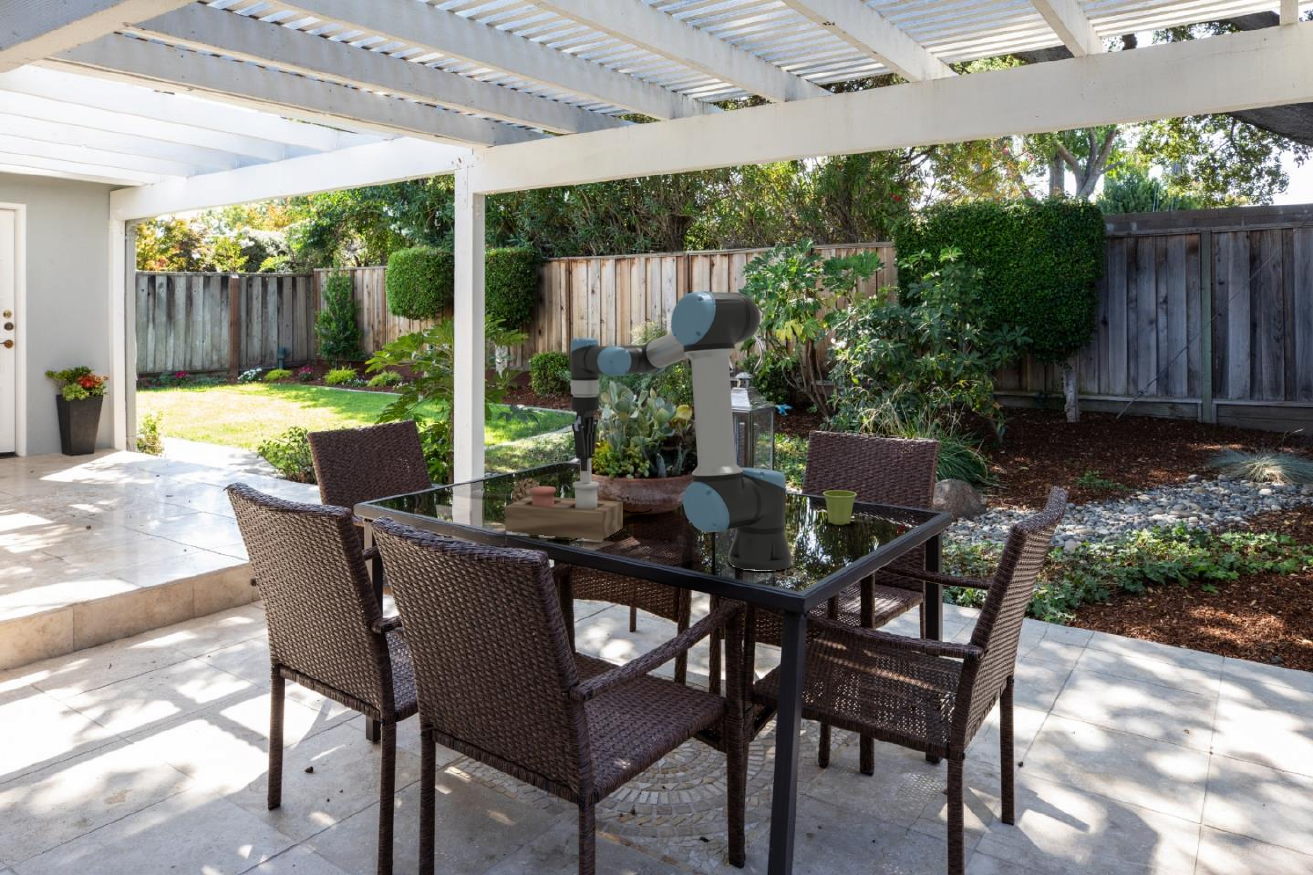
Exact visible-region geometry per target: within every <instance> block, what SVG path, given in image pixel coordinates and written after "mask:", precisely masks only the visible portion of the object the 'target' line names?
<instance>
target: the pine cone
mask: <svg viewBox="0 0 1313 875" xmlns="http://www.w3.org/2000/svg"><path fill="white" fill-rule="evenodd" d="M520 480H521V481H520ZM520 480H519V481H518V482H519V483H515V484H514V486H513V491H511V497H512V498H513V499H512V500H511V502H512V503H515V502H517V501H520V500H522V499H525V498H527V497H530V496H532V494H531V493H530V488H533V487H540V486H541V485H540V481H539V482H537V481H536V480H535V479H532V478H525V479H524V480H523V479H520Z"/></svg>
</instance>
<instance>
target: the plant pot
mask: <svg viewBox="0 0 1313 875" xmlns="http://www.w3.org/2000/svg"><path fill="white" fill-rule="evenodd" d="M822 493H823V494H822V495H823V496H824V500H825V505H826V512H827V520H828V521H827V522H828V523H829V524H833V525H836V526H844V525H849V524H851V520H852V514H853V513H852V511H853V507H854V503H855V502H854V501H855V499H856V497H857V492H854V491H851V490H850V491H849V490H843V489H842V490H840V489H839V490H836V489H834V490H826V491H824V492H822Z"/></svg>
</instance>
